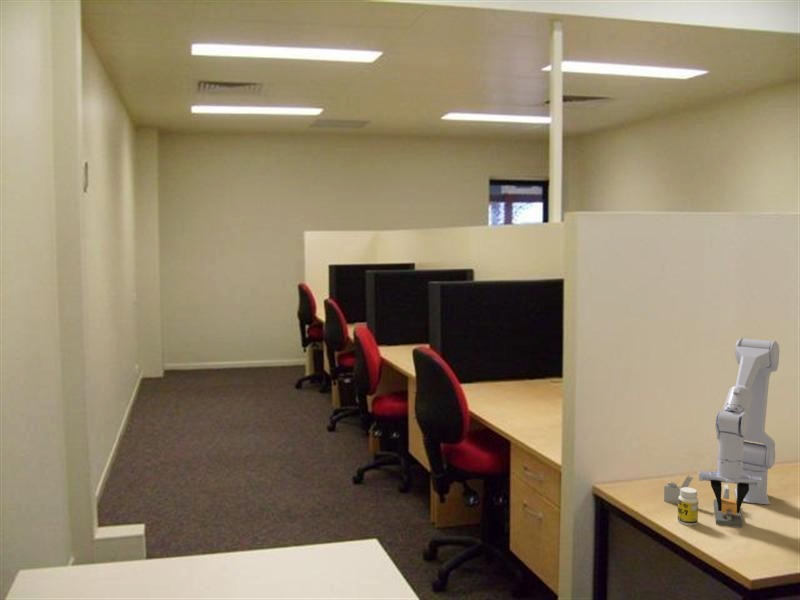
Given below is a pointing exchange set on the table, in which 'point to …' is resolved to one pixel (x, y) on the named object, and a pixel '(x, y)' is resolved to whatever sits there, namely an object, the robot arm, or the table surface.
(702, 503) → the table surface
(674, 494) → the lighter
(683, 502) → the supplement bottle
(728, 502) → the orange cube with peg
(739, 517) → the linear slider rail
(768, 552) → the table surface
